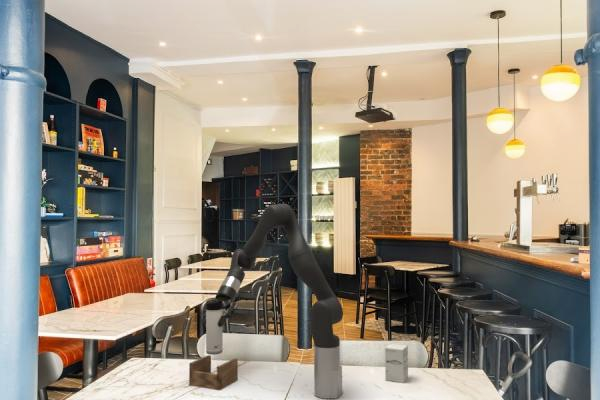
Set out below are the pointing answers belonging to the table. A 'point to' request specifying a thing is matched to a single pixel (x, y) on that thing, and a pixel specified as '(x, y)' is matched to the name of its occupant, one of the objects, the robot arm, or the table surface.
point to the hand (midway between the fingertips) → (211, 325)
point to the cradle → (204, 377)
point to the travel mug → (214, 328)
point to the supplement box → (396, 363)
